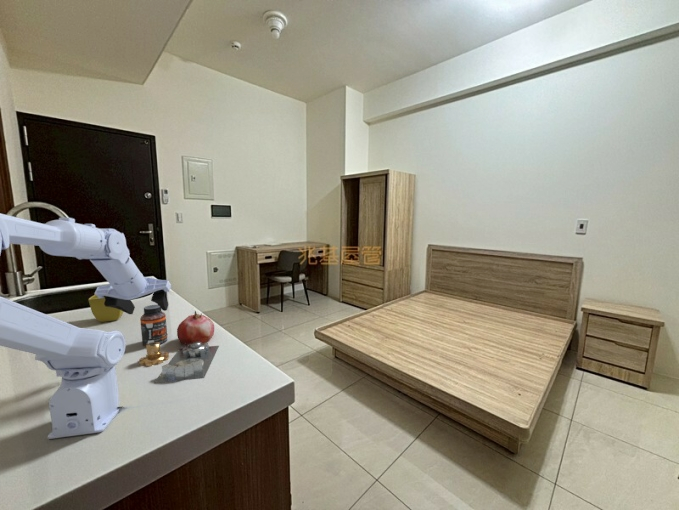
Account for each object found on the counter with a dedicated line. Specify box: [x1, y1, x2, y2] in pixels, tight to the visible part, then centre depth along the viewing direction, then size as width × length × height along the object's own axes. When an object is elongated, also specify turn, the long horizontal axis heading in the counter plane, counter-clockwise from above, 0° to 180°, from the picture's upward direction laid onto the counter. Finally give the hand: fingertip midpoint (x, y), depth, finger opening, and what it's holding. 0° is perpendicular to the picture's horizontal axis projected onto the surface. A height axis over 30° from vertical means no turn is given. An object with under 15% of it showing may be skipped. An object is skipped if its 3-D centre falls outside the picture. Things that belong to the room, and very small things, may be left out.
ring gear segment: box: [161, 361, 203, 379], centre depth 64 cm, size 3×8×2 cm, turn 102°
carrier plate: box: [153, 345, 220, 384], centre depth 70 cm, size 16×10×1 cm, turn 12°
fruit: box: [176, 310, 215, 346], centre depth 81 cm, size 9×10×10 cm
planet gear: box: [138, 342, 170, 368], centre depth 71 cm, size 6×6×5 cm
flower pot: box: [88, 294, 125, 323], centre depth 101 cm, size 9×9×9 cm
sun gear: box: [182, 341, 210, 358], centre depth 74 cm, size 6×6×2 cm
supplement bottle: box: [140, 304, 168, 348], centre depth 80 cm, size 6×6×11 cm
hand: (149, 309), depth 71 cm, fingers open, 7 cm apart
